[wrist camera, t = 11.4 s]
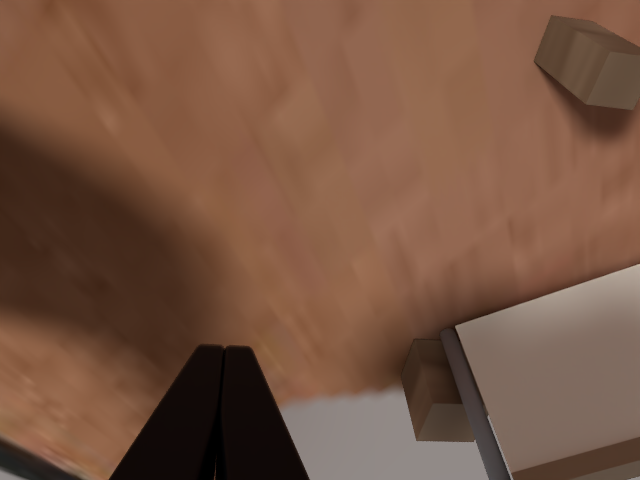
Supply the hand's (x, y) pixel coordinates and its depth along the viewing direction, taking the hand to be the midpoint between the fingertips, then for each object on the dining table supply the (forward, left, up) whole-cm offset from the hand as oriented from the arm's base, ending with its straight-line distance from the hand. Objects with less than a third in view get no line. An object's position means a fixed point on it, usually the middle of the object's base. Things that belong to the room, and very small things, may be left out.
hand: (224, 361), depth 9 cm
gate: (+17, -9, -13) cm, 23 cm away
